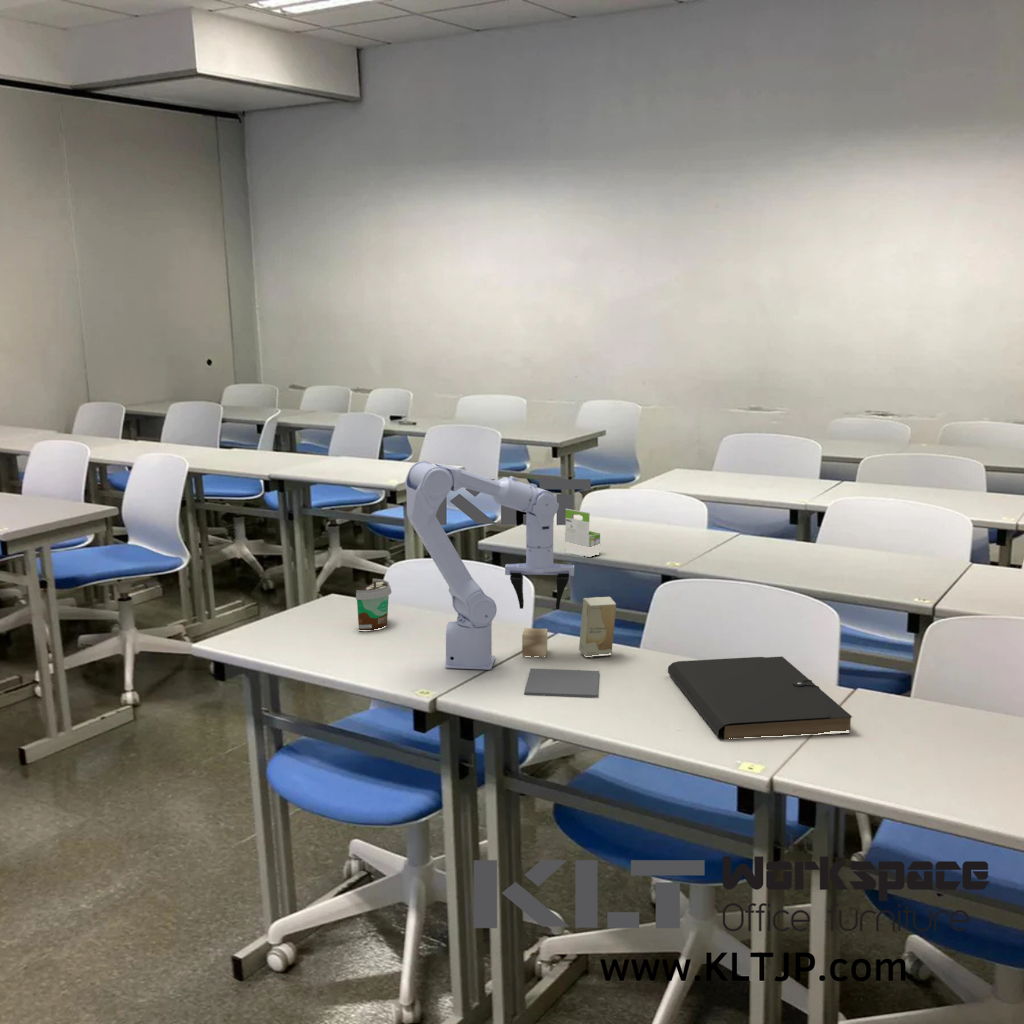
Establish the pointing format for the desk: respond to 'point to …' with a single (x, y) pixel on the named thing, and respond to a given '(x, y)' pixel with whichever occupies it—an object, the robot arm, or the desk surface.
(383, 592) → the food container
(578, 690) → the charcoal mat
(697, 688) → the file folder
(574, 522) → the ink box
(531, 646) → the maple cube
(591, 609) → the skincare box
